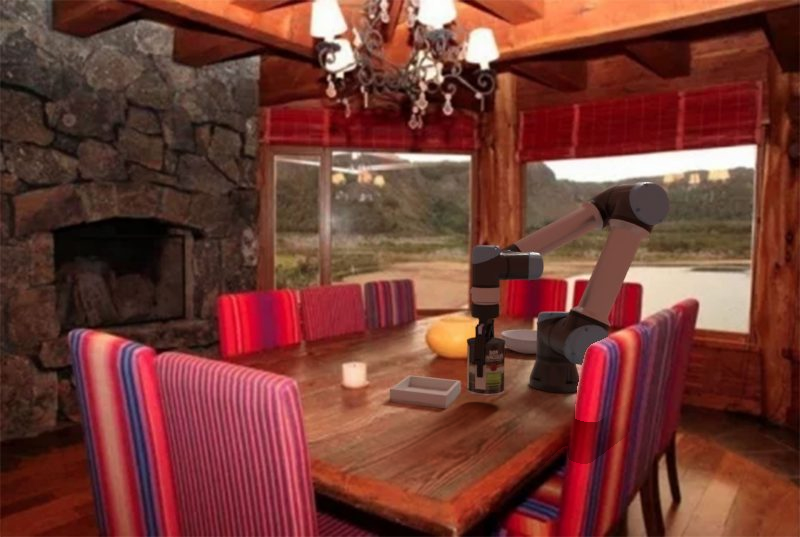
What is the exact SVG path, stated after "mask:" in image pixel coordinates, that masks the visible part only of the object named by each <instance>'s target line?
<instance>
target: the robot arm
mask: <svg viewBox="0 0 800 537" xmlns="http://www.w3.org/2000/svg"><path fill="white" fill-rule="evenodd" d="M670 208H671V202H670V197H669V195H668V193H667V191H666V190H665V189H664V188H663V186H662V185H660V184H658V183H656V182H651V181H639V182H635V183H626V184H625V183H624V184H617V185H614V186H612V187H609V188H608V189H605V190H604V191H602V192H600V193H598V194H597V195H595V196H593V197H591V198H589V199H588V200H585V201H584V202H583V203H582V205H581V207H579V208H578V209H576V210H574V211H572V212H570V213H568V214H566V215H564V216H562V217H560V218H558V219H556V220H555V221H553V222H551V223H549V224H547V225H545V226H544V227H542V228H540V229H537V230H535V231H534V232H532V233H530V234H528V235H526V236H525V237H523V238H520V239H519V240H517V241H515V242H513V243H511V244H509V245H506V246H504V247H503V248H500V246H499V245H495V244H494V245H492V244H491V245H490V244H489V245H488V244H487V245H483V244H480V245H479V244H477V245H475V246H473V248H472V251H471V262H470V263H471V289H470V290H469V294H471V302H472V303H471V305H470V306H471V309H470V310H471V311H470V315H471V317H472V318H475V319H478V324H476V325H475V327H474V331H475V332H474V333H475V336H474V337H475V349H474V361H473V362H472V365H475V389H483V390H485V389H486V365H485V359H486V348H485V344H487V342H488V341H489V340H490V339H492V337H494V338H495V319H497V318H499V317H500V304H499V303H498V302H500V301H501V300H500V299H501V298H500V296H501V288H500V287H501V286H500V284H501V281H522V280H523V281H527V280H528V281H531V280H538V279H540V278H542V276H543V274H544V270H545V269H544V267H545V265H544V264H545V263H544V258H543V257H544V256H546V255H548V254H550V253H552V252H554V251H556V250H558V249H559V248H561V247H563V246H565V245H568V243H571V242H573V241H574V240H576V239H578V238H580V237H582V236H584V235H586V234H588V233H589V232H591V231H593V230H594V231H600V230H603V229H604V228H606V227H607V228H608V227H610V228H611V229H610V230H609V234H608V236H607V237H606V240H605V243H604V245H603V247H602V250H601V252H600V254H599V257H598V259H597V262H596V264H595V265H594V269H593V271H592V273H591V275H590V277H589V280H588V281H587V284H586V287H585V289H584V291H583V294H582V296H581V298H580V300H579V303H578V305H577V306H574V307H572V308H570V309H569V311H541V312H539V313H538V315H537V320H536V331H537V344H536V354H535V362H534V364H533V367H532V370H531V371H530V375H529V383H528V384H529V386H530V387H532V388H533V389H536V390H540V391H542V392H549V393H557V394H559V393H561V394H564V393H565V394H569V393H570V394H571V393H575V392H578V391H577V386H578V382H579V377H580V374H579V370H578V367H577V365H579V366H582V363H583V359H584V355H585V352H586V350H587V348H588V347H589V346H590V345H591V344H593V343H595V342H597V341H600V340H602V339H604V338H606V337H608V336H609V330H610V328H611V323H610V321H609V317H610V314H611V311H612V309H613V307H614V304H615V302H616V299H617V297H618V295H619V292H620V291H621V289H622V286H623V284H624V281H625V279H626V277H627V275H628V272H629V270H630V267H631V266H632V263H633V260H634V259H635V256H636V254H637V251H638V249H639V247H640V245H641V242H642V240H643V239H646V238H649V237H650V236H651V233H652V231H653V229H654V226H655V225H658V224H660V223H663V221H665V219H666V218H667V217H668V215H669V212H670ZM609 337H610V336H609ZM478 359H481V360H478Z"/></svg>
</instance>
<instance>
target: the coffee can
mask: <svg viewBox="0 0 800 537" xmlns="http://www.w3.org/2000/svg"><path fill="white" fill-rule="evenodd" d="M466 343H467V346H466V348H467V349H466V350H467V351H466V352H467V353H466V355H467V356H466V358H467V359H466V360H467V361H466V363H467V364H466V392H467V393H468V394H470V395H474V396H479V397H497V396H498V397H499V396H502V395H503V394H504V393H505V353H506V352H505V351H506V350H505V349H506V348H505V347H506V345H505V340H503V339H502V338H499V337H495V336H494V337H492V339H490V340H489V341H488V342H487V344H485V348H486V359H485V365H486V389H485V390H483V389H475V365H472V362H473V361H474V349H475V336H474V337H469V338H467V339H466ZM478 360H481V359H478Z"/></svg>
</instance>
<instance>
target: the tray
mask: <svg viewBox="0 0 800 537" xmlns="http://www.w3.org/2000/svg"><path fill="white" fill-rule="evenodd" d="M461 388H462V380H459V379H458V380H457V379H448V378H438V377H430V376H420V375H411V374H408V375H406V377H404V378H403V379H402V380H400V381H399V382H397V383H396V384H395V385H393V386H392V387H390V389H389V402H391V403H399V404H407V405H416V406H421V407H422V406H424V407H430V408H440V409H447V408H448V407H449V406H450V405H451V404H452V403H453V402H454V401H455V400H456V399H457V397H458V396H459V395H460V394H461V393H462V391H461V390H462V389H461Z"/></svg>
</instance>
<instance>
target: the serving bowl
mask: <svg viewBox="0 0 800 537" xmlns="http://www.w3.org/2000/svg"><path fill="white" fill-rule="evenodd" d="M500 335H501V339H503V340H505V347H506V348H508V349H509V350H511V351H513V352H516V353H518V354H524V355H536V344H537V330H533V329H509V330H503V331H502V332H501V334H500Z"/></svg>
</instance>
